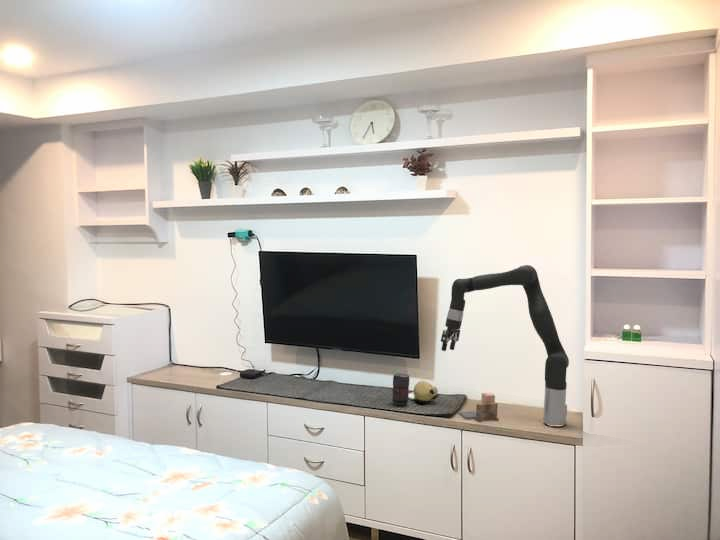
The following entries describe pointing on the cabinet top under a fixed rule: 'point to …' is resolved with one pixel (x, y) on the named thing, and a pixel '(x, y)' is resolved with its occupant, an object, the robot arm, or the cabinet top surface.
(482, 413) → the walnut board
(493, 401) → the salmon pink rectangular block
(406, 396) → the camera lens
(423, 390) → the yellow round lump
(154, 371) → the cabinet top surface
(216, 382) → the cabinet top surface
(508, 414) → the cabinet top surface
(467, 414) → the slate pad
